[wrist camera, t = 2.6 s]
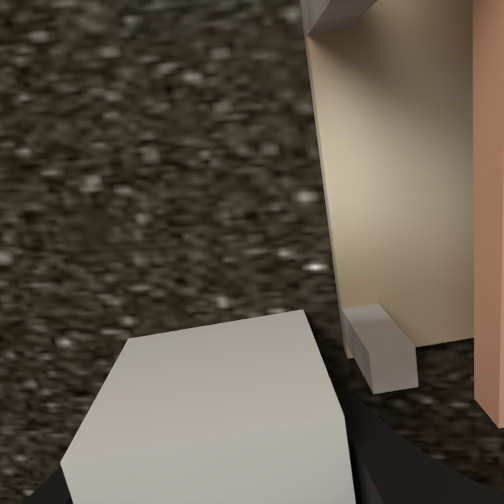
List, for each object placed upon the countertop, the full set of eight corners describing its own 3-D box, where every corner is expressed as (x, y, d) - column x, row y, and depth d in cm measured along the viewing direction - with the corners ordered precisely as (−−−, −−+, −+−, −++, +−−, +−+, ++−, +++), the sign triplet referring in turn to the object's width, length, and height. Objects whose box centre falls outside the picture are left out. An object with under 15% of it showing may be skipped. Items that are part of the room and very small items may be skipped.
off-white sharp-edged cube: (325, 459, 14) (372, 632, 9) (165, 485, 14) (127, 670, 9) (303, 309, 13) (344, 415, 8) (128, 339, 13) (60, 462, 8)
